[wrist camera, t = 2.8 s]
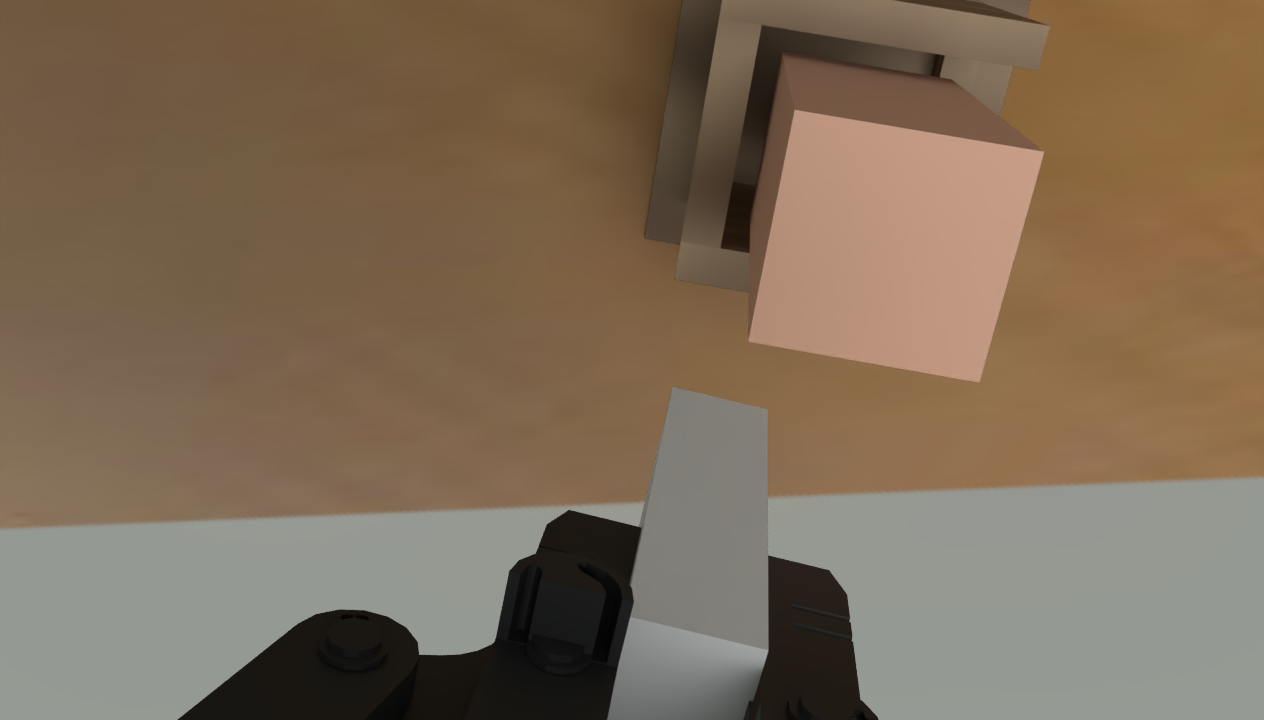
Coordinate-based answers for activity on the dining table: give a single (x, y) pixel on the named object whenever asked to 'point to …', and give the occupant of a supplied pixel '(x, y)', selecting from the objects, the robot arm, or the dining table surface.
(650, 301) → the dining table surface
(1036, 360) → the dining table surface
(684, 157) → the holder
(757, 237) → the block
